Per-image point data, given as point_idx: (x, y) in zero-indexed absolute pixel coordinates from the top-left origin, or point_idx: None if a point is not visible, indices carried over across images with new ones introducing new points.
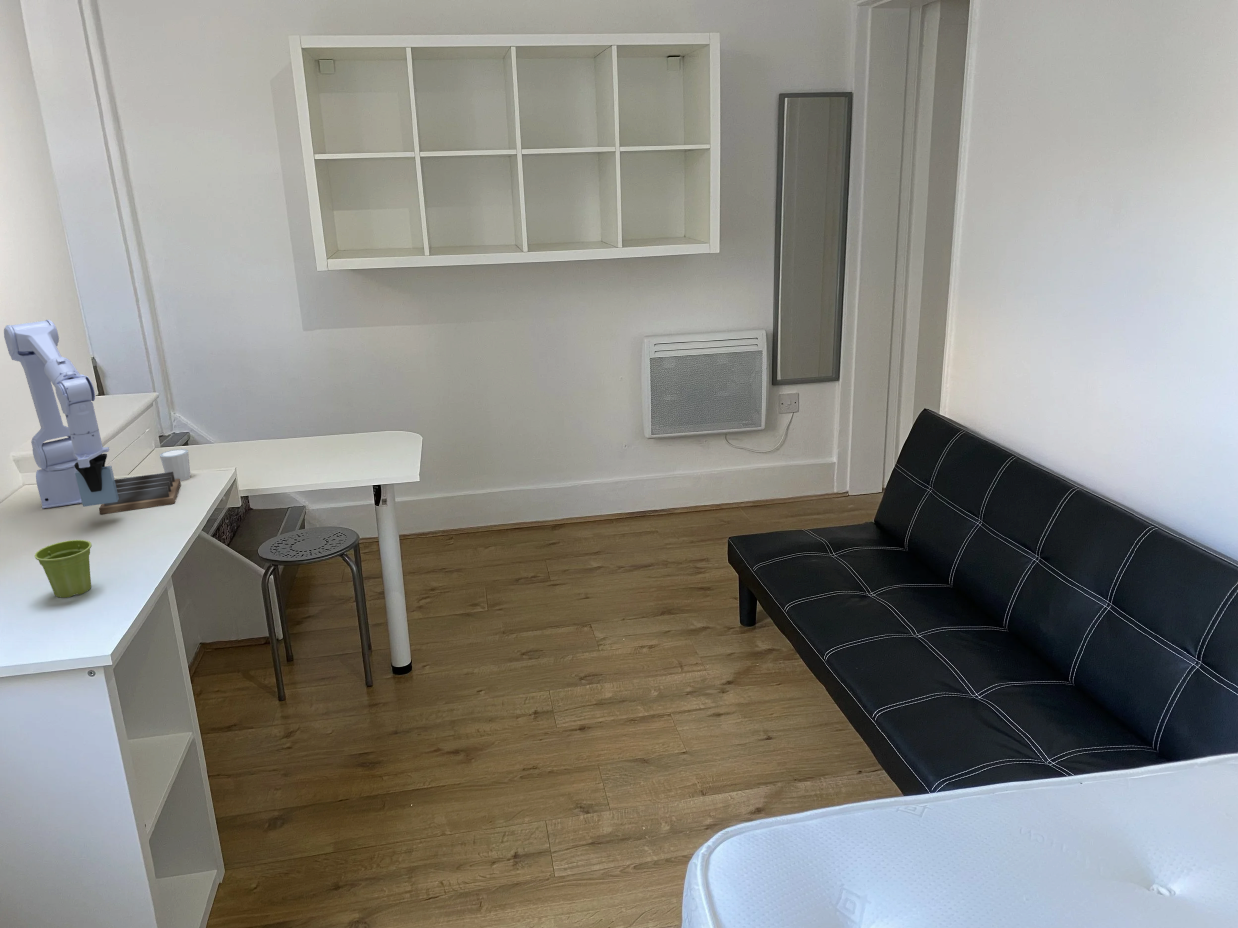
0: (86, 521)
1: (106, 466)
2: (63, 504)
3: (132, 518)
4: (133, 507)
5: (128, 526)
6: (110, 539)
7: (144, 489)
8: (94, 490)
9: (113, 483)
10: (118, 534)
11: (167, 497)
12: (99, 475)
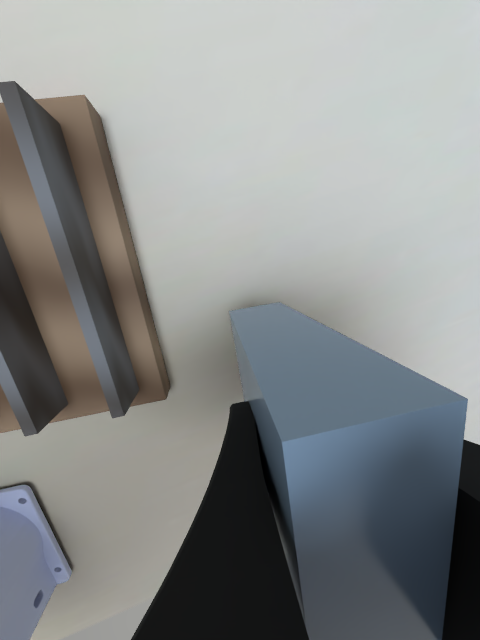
0: (229, 403)
1: (301, 503)
2: (50, 535)
3: (247, 257)
4: (140, 284)
5: (329, 246)
6: (428, 268)
7: (50, 231)
8: None
9: (308, 328)
10: (394, 256)
11: (71, 131)
12: (476, 448)
